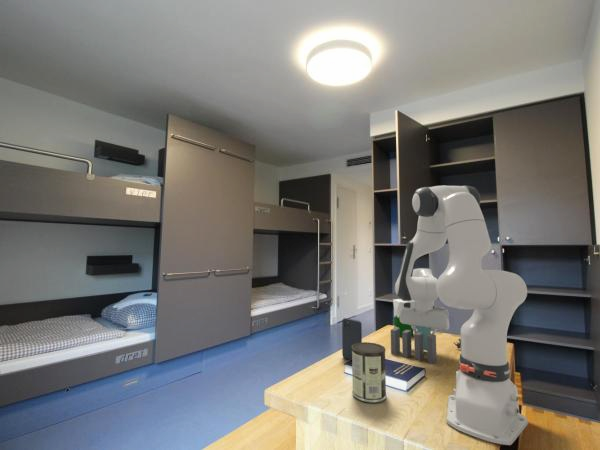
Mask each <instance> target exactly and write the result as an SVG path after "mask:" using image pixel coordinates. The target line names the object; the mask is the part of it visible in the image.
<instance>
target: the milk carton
mask: <svg viewBox="0 0 600 450" xmlns="http://www.w3.org/2000/svg"><path fill="white" fill-rule="evenodd" d="M403 302H406V301H403V300H401V299H400V298H397V299H392V304H393V325H394V326H393V328H400V338H402V332H403V331H405V330H411V338H412V337H413V338H414V331H413V329H412V327H411V325H408V324H402V323H401V322H400V311H401V309H402V308H403V307H402V303H403Z"/></svg>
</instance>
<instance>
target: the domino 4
mask: <svg viewBox="0 0 600 450" xmlns="http://www.w3.org/2000/svg"><path fill="white" fill-rule="evenodd" d="M416 330H417V332H422V333H423V345H424V351H426V352H427V336H429V334H432V332H431V331H432V328H427V327H421V326H416Z"/></svg>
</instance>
